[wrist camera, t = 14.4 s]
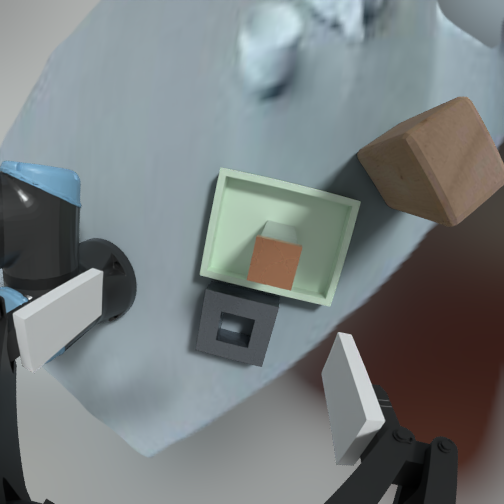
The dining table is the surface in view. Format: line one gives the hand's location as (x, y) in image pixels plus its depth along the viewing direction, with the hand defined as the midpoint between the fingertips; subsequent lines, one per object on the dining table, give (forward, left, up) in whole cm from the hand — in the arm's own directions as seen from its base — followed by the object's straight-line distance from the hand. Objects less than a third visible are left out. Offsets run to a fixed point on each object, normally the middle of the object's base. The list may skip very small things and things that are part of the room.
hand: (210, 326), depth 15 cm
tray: (+3, 0, -31) cm, 31 cm away
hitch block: (0, -15, -31) cm, 35 cm away
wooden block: (+18, +15, -31) cm, 39 cm away
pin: (+3, 0, -30) cm, 31 cm away
